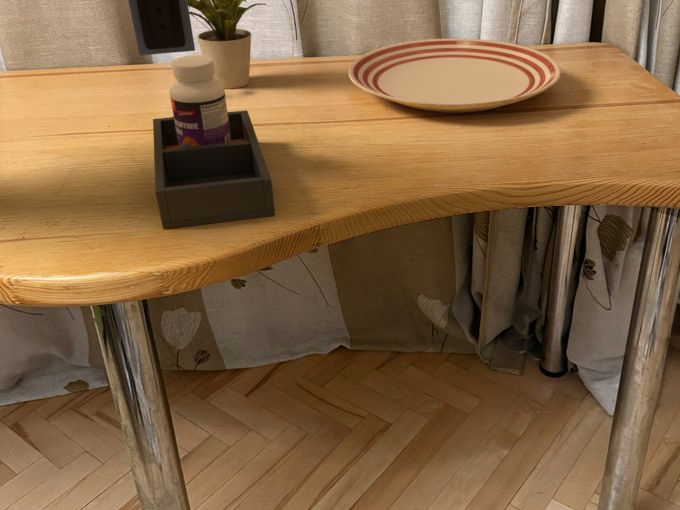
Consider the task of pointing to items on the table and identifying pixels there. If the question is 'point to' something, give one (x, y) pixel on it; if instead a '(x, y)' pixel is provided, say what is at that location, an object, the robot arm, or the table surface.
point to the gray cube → (145, 51)
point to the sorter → (211, 176)
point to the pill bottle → (198, 103)
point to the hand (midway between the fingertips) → (164, 37)
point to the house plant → (225, 40)
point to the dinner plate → (455, 74)
